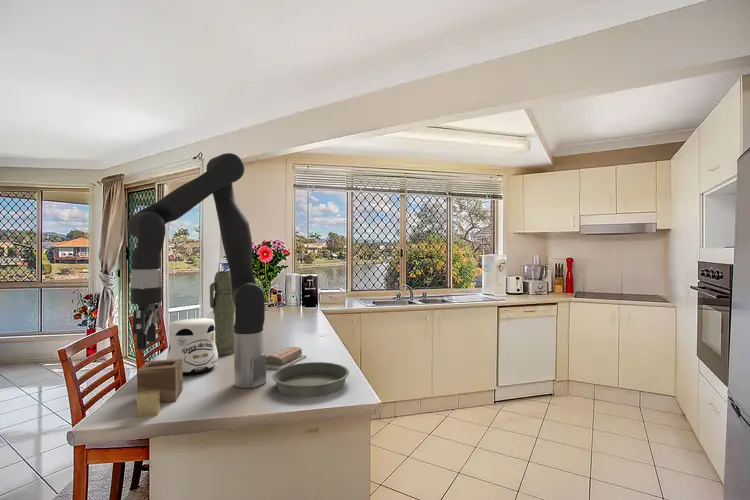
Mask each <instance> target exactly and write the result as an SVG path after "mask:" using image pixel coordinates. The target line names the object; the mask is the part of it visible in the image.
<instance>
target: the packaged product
mask: <svg viewBox="0 0 750 500" xmlns="http://www.w3.org/2000/svg"><path fill="white" fill-rule="evenodd" d="M302 350H303V349H302V348H301V347H298V346H287V347H285V348H282V349H280V350H278V351H276V352H273V353H270V354H268V355H266V369H271V370H279V369H281V368H283V367H286V366H290V365H294V364H297V363H298V362H300V361H301V360H305V359H306V358H307V355H302V353H303V351H302Z"/></svg>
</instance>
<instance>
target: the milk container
mask: <svg viewBox="0 0 750 500" xmlns="http://www.w3.org/2000/svg"><path fill="white" fill-rule="evenodd" d="M168 343H169V344H168V351H167V355H166V359H165V360H171V359H182V374H183V375H192V374H199V373H204V372H207V371H210V370H212V369H213V368H215V367H216V365H217V363H218V359H219V356H218V351H217V348H216V344H215V322H214V318H210V317H209V318H207V317H202V318H201V317H200V318H199V317H198V318H185V319H178V320H175V321H174V320H173V321H171V322H170V323H169V325H168Z"/></svg>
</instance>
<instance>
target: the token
mask: <svg viewBox="0 0 750 500" xmlns="http://www.w3.org/2000/svg"><path fill="white" fill-rule="evenodd" d="M160 412H161V403H160V390H155V391H144V392H139V393H138V394H136V417H137V418H145V417H152V416H153V417H154V416H155V417H156V416H158V415H159V414H160Z"/></svg>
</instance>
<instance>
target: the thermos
mask: <svg viewBox="0 0 750 500" xmlns="http://www.w3.org/2000/svg"><path fill="white" fill-rule="evenodd" d="M213 278H214V279H213V282H212V283H211V284H210V285H209V307H210V309H212V314H213V317H214V318H213V320H214V322H215V344H216V348H217V351H218V357H223V356H224V357H225V356H232V355H233V354H234V324H235V319H234V318H235V316H234V315H235V304H234V302H233V299H232V285H231V275H230V270H229V271H228V270H223V271H217V272H216V273H215V275H214V277H213Z"/></svg>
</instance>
